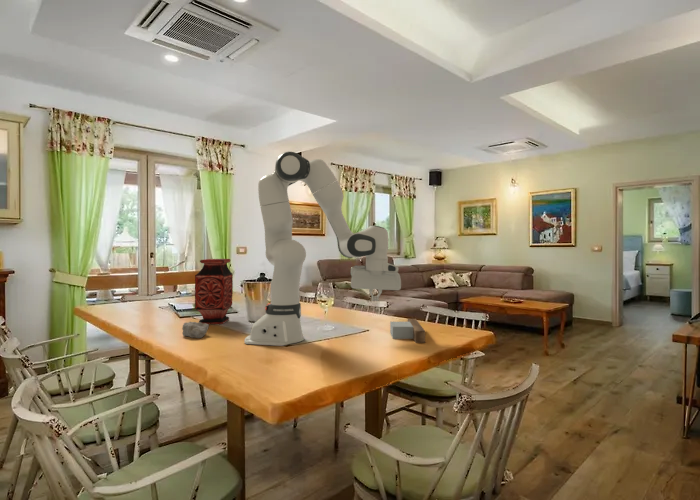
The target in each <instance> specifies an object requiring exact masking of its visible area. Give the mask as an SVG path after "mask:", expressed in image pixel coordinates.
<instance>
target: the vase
mask: <svg viewBox="0 0 700 500" xmlns="http://www.w3.org/2000/svg"><path fill="white" fill-rule="evenodd" d="M230 262H231V259H230V258H205V259H200V260H199V263H201V264H203V266H202V268H201V270H199V272H198V273H196V274H195V275H194V283H195V284H194V310H196V311H197V312H199V313H200V315H201V316H202V318H201V319H200V320H199V321H198V322H201V323H203V324H205V323H206V324H208V325H223V324H225V323H226V322H227V321H229V320H230V317H229V316H227V313H228V311H229V309H230V308H231V307H232V306H233V292H234V291H233V288H234V286H233V285H234V282H233V275H234V273H232V271H231V270H230V269H229V267H228V265H227V264H228V263H230Z"/></svg>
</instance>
